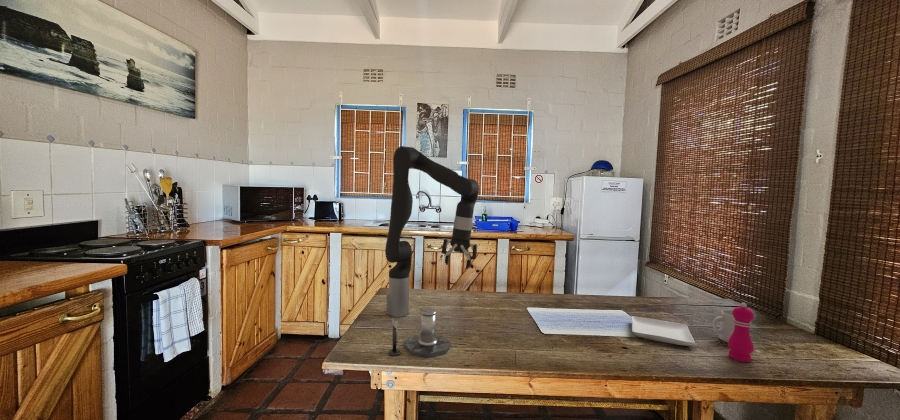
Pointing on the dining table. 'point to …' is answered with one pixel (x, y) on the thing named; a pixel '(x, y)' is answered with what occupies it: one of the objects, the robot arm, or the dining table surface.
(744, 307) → the pepper mill
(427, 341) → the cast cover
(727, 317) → the mug
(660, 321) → the salad plate
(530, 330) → the dining table surface
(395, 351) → the stand
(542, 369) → the dining table surface
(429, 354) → the grey octagonal star trivet
